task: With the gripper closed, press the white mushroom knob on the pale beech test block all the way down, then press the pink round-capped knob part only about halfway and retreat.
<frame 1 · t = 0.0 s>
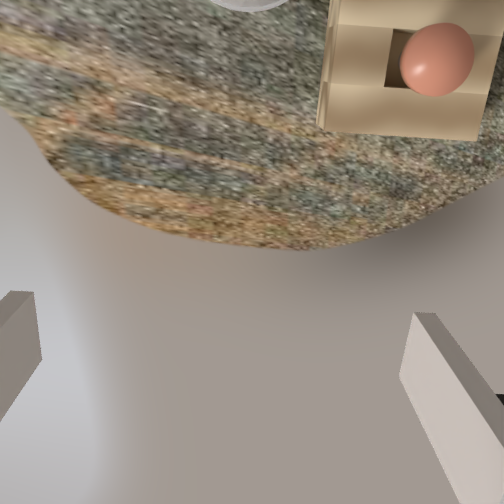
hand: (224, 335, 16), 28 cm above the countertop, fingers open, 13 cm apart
pink round-capped knob part: (426, 60, 32), point 7 cm above the countertop, slide at 0.0 cm
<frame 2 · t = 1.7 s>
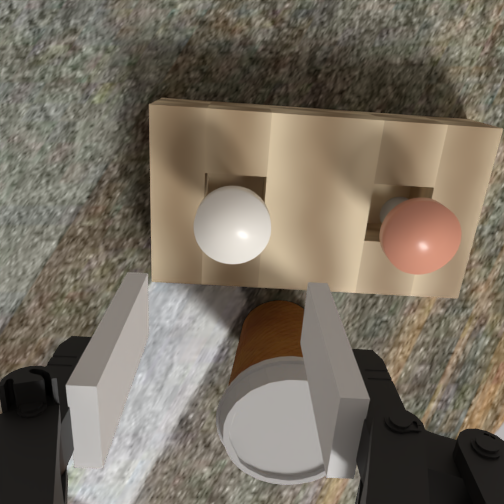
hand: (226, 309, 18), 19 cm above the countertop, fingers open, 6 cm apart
pink round-capped knob part: (409, 225, 29), point 7 cm above the countertop, slide at 0.0 cm
disposable coffee cup: (277, 330, 41), on the countertop
white mushroom knob: (233, 215, 29), point 7 cm above the countertop, slide at 0.0 cm
test block: (307, 190, 36), on the countertop
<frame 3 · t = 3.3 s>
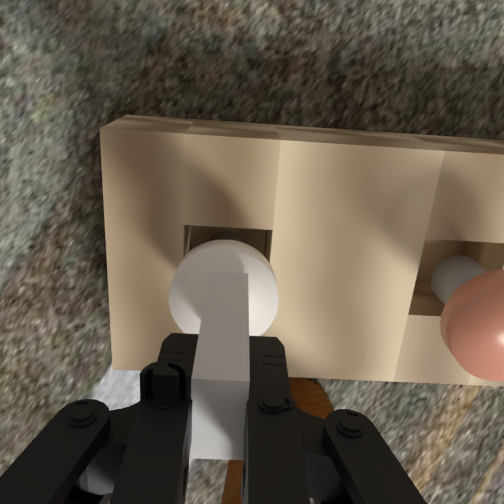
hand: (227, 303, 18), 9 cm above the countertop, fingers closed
pink round-capped knob part: (479, 303, 20), point 7 cm above the countertop, slide at 0.0 cm
disposable coffee cup: (284, 410, 32), on the countertop
white mushroom knob: (225, 275, 21), point 6 cm above the countertop, slide at 1.5 cm, touching gripper
test block: (325, 236, 27), on the countertop
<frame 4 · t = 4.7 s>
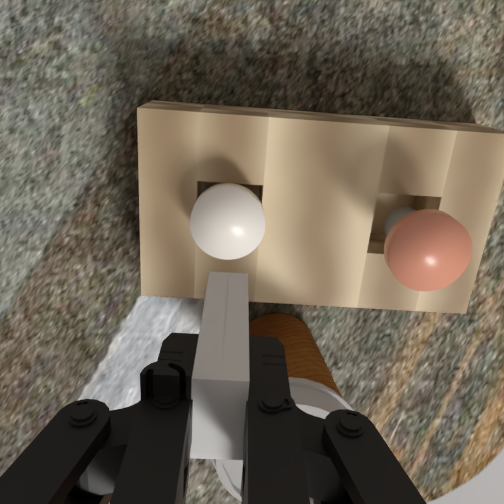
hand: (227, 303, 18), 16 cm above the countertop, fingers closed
pink round-capped knob part: (415, 238, 27), point 7 cm above the countertop, slide at 0.0 cm
disposable coffee cup: (275, 344, 39), on the countertop
white mushroom knob: (228, 212, 29), point 4 cm above the countertop, slide at 2.8 cm
test block: (306, 198, 34), on the countertop
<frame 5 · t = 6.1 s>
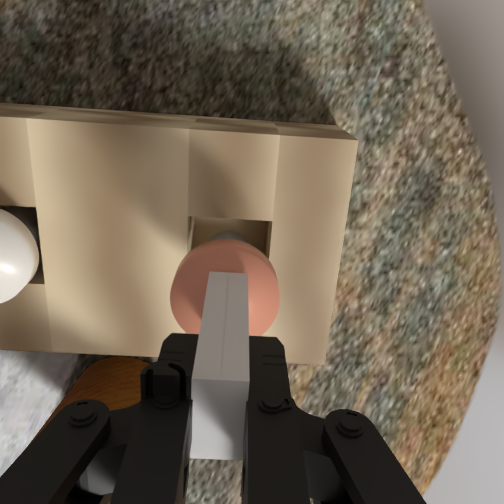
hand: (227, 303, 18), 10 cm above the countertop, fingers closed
pink round-capped knob part: (226, 274, 21), point 7 cm above the countertop, slide at 0.3 cm, touching gripper
disposable coffee cup: (125, 392, 32), on the countertop
white mushroom knob: (3, 240, 23), point 4 cm above the countertop, slide at 2.8 cm
test block: (136, 218, 27), on the countertop
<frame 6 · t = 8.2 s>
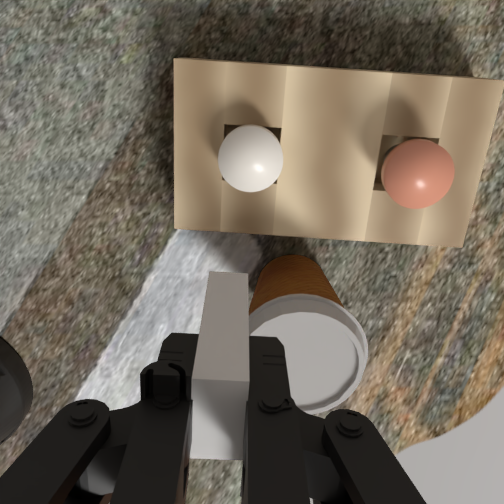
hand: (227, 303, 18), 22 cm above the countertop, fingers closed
pink round-capped knob part: (408, 167, 32), point 6 cm above the countertop, slide at 1.4 cm
disposable coffee cup: (291, 284, 43), on the countertop
white mushroom knob: (251, 153, 34), point 4 cm above the countertop, slide at 2.8 cm
test block: (320, 146, 38), on the countertop
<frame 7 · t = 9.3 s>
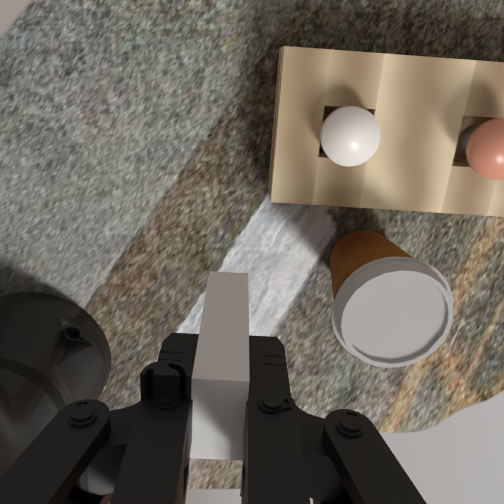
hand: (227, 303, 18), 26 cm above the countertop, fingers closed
pink round-capped knob part: (487, 144, 37), point 6 cm above the countertop, slide at 1.4 cm
disposable coffee cup: (360, 258, 47), on the countertop
white mushroom knob: (344, 132, 38), point 4 cm above the countertop, slide at 2.8 cm
test block: (395, 129, 42), on the countertop
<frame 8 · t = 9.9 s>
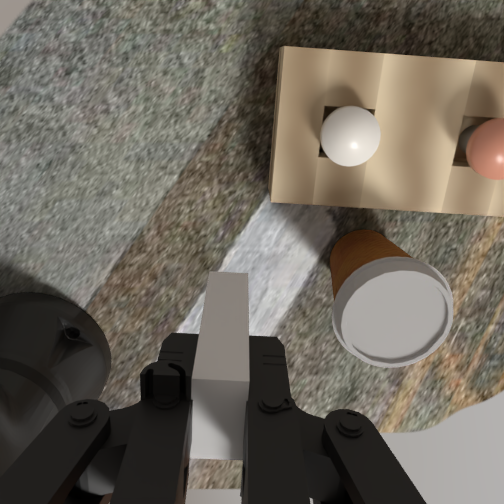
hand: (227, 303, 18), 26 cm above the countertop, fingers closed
pink round-capped knob part: (487, 144, 37), point 6 cm above the countertop, slide at 1.4 cm
disposable coffee cup: (360, 258, 47), on the countertop
white mushroom knob: (344, 132, 38), point 4 cm above the countertop, slide at 2.8 cm
test block: (395, 129, 42), on the countertop
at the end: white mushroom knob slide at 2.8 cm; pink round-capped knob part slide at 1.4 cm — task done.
